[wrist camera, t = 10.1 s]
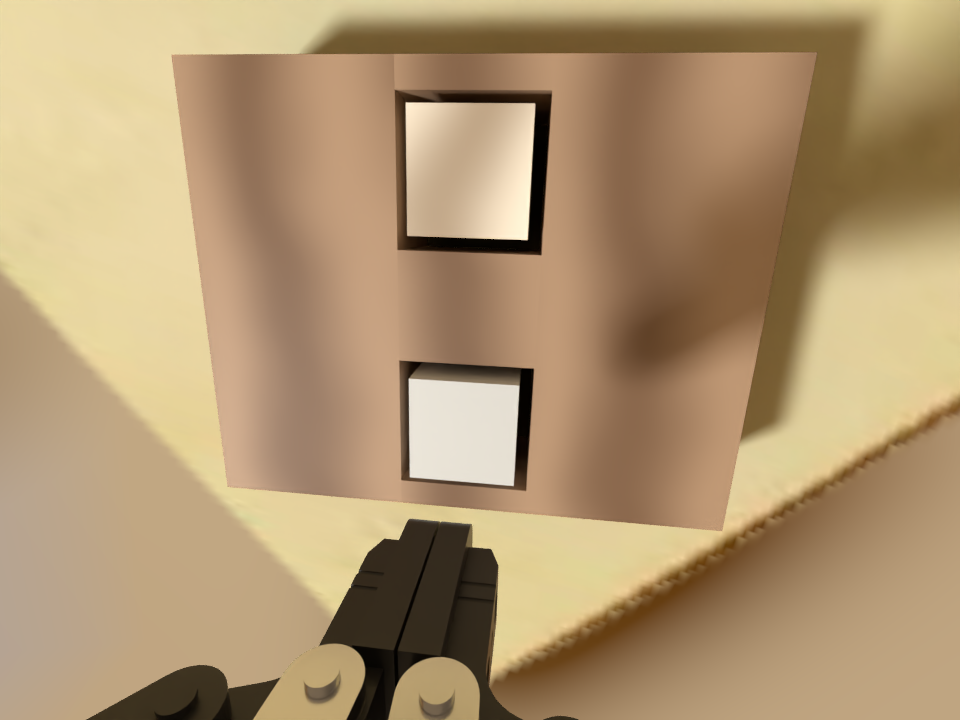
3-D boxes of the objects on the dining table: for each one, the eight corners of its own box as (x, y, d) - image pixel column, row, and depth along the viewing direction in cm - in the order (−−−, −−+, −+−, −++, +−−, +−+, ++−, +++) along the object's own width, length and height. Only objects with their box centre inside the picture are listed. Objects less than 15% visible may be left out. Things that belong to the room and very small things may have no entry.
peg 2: (522, 350, 21) (519, 385, 17) (517, 431, 22) (513, 486, 18) (435, 345, 22) (408, 378, 17) (435, 425, 23) (410, 477, 18)
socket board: (742, 99, 18) (817, 52, 13) (681, 467, 23) (722, 531, 18) (257, 96, 20) (171, 54, 15) (287, 436, 24) (227, 486, 20)
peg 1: (534, 135, 19) (535, 103, 14) (528, 237, 20) (527, 240, 15) (437, 134, 19) (405, 102, 14) (436, 234, 20) (407, 235, 16)
